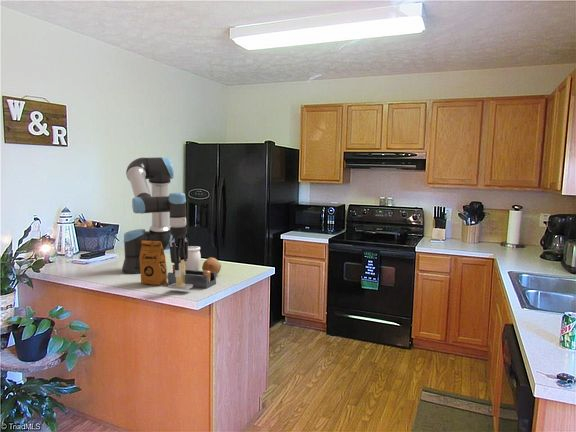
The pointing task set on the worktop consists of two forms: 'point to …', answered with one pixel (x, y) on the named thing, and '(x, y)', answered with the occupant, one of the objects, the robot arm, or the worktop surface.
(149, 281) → the coffee package
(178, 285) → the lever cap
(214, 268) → the onion
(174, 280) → the dark grey tray
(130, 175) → the robot arm
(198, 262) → the jar
